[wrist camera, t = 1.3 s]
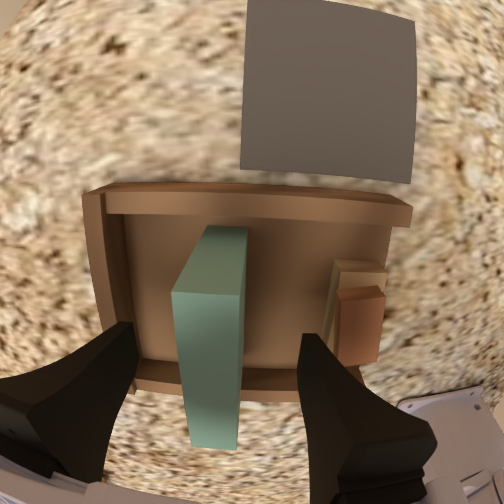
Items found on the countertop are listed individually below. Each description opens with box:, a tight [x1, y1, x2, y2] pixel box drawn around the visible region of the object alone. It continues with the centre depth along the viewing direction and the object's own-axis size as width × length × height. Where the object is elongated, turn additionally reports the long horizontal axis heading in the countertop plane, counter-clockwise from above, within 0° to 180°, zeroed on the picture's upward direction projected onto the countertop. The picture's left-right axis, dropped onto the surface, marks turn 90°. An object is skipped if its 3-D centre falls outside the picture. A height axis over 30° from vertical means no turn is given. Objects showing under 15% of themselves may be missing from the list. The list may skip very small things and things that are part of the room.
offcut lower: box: [321, 259, 388, 353], centre depth 16 cm, size 2×5×2 cm, turn 178°
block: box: [171, 225, 248, 450], centre depth 14 cm, size 2×8×7 cm, turn 178°
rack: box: [82, 182, 413, 402], centre depth 16 cm, size 15×12×3 cm
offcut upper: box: [333, 285, 386, 367], centre depth 15 cm, size 2×4×1 cm, turn 6°
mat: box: [240, 0, 417, 184], centre depth 13 cm, size 9×10×1 cm
